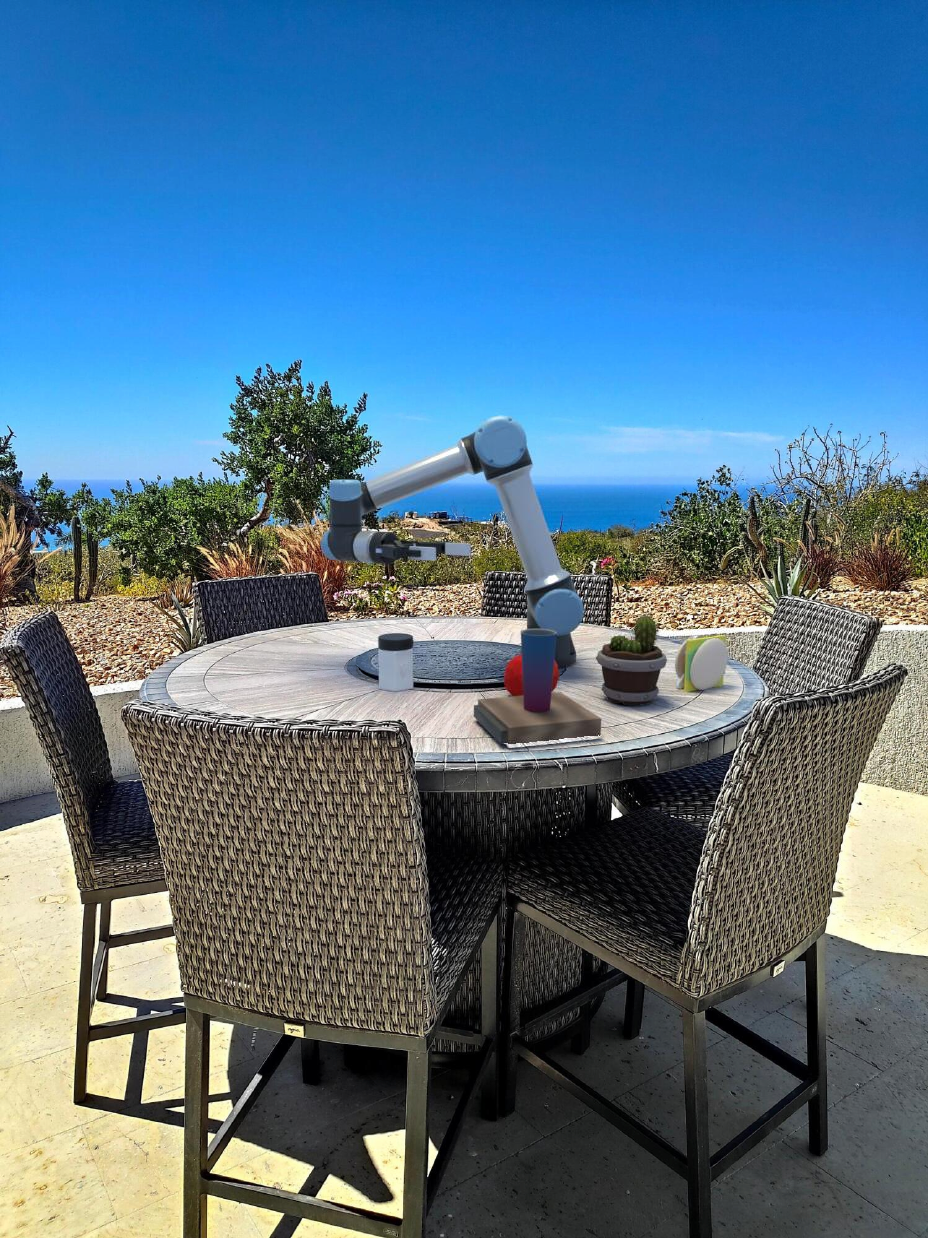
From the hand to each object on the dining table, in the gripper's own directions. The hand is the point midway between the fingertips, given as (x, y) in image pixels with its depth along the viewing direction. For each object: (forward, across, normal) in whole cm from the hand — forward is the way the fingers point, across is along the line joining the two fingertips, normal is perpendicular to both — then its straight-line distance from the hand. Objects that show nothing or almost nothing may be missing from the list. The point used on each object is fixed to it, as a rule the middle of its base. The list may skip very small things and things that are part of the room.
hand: (453, 551), depth 156 cm
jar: (-14, +2, -32) cm, 35 cm away
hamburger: (+45, -37, -32) cm, 66 cm away
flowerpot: (+35, -18, -32) cm, 51 cm away
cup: (+27, +11, -28) cm, 40 cm away
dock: (+27, +11, -32) cm, 43 cm away
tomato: (+16, -7, -32) cm, 37 cm away
